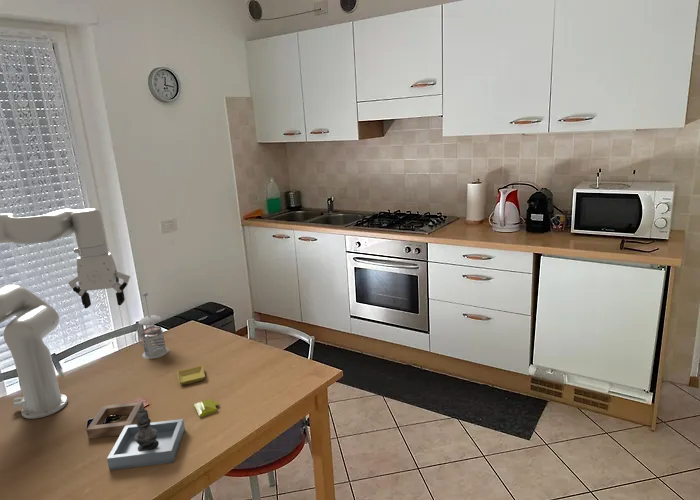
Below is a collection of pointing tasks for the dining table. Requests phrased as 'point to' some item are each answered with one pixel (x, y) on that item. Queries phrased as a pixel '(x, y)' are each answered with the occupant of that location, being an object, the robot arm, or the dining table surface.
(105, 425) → the hollow square frame
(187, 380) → the yellow shallow rimmed piece
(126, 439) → the tray
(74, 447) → the dining table surface
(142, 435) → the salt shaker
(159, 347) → the french press
